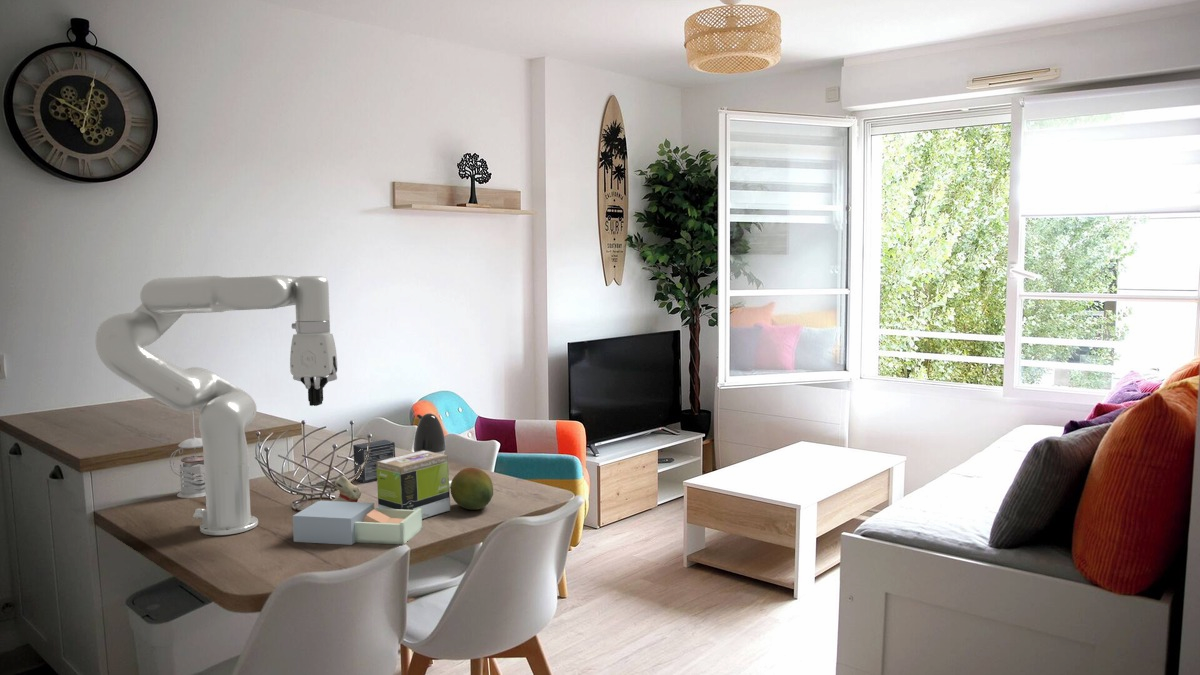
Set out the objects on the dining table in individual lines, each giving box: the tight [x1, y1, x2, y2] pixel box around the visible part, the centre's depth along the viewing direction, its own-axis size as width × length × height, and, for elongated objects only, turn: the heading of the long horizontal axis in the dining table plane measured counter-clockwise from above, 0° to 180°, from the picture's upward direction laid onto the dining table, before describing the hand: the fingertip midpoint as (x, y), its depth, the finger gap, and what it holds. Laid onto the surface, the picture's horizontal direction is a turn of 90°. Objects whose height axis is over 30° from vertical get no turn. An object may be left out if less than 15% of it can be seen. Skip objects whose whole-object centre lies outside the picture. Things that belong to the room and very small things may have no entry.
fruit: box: [450, 467, 494, 510], centre depth 208 cm, size 12×13×10 cm
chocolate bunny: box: [332, 475, 362, 502], centre depth 203 cm, size 6×8×10 cm
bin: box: [355, 507, 423, 545], centre depth 187 cm, size 12×11×5 cm
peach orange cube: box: [385, 518, 404, 524], centre depth 185 cm, size 4×4×4 cm
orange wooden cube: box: [363, 508, 390, 523], centre depth 186 cm, size 4×4×4 cm
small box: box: [352, 439, 396, 484], centre depth 238 cm, size 11×6×10 cm, turn 133°
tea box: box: [376, 450, 451, 520], centre depth 202 cm, size 15×10×15 cm, turn 141°
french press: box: [169, 411, 206, 499], centre depth 222 cm, size 10×12×25 cm
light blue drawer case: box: [292, 500, 375, 546], centre depth 188 cm, size 14×12×6 cm
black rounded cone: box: [412, 413, 447, 454], centre depth 259 cm, size 10×10×15 cm
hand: (315, 404), depth 194 cm, fingers closed
